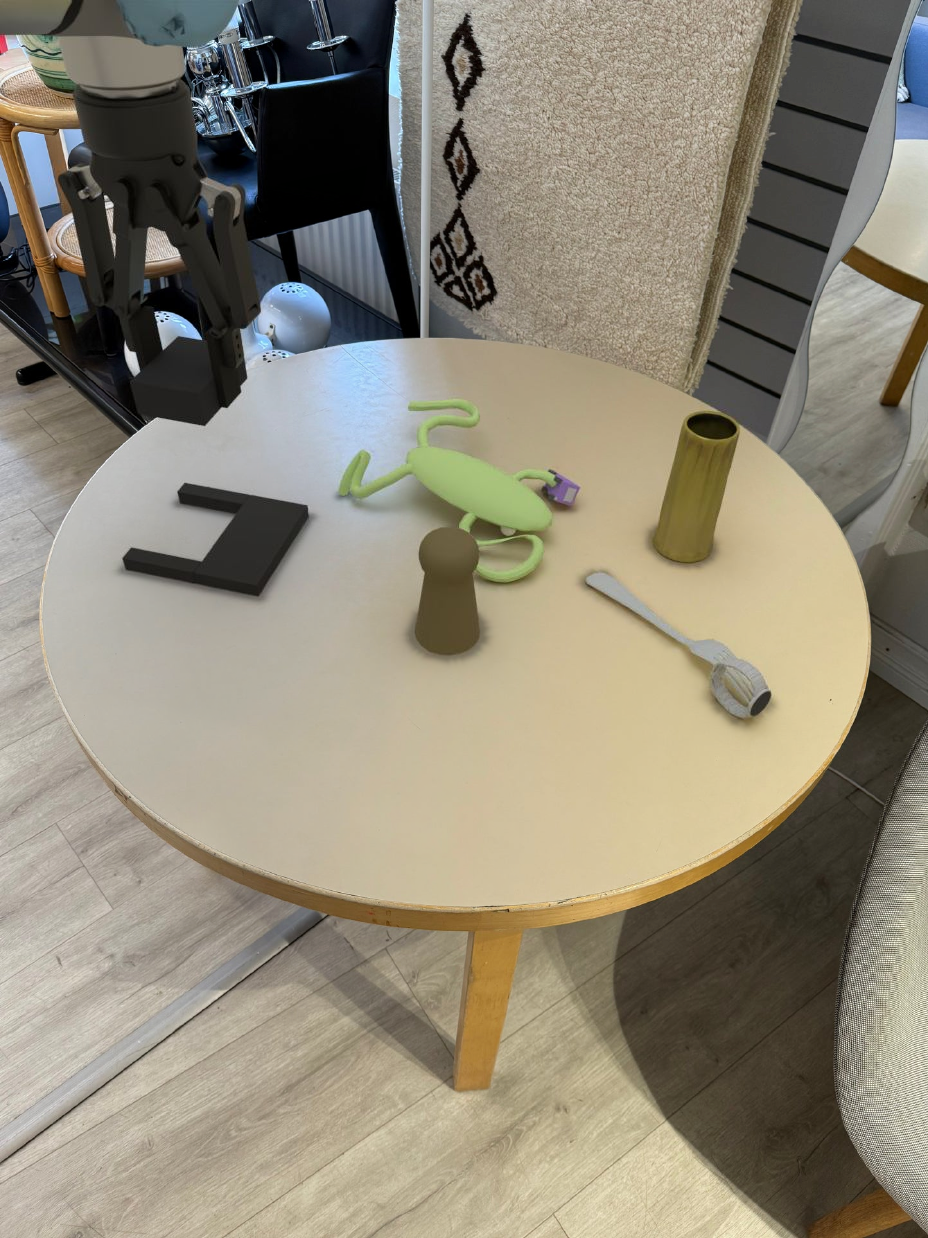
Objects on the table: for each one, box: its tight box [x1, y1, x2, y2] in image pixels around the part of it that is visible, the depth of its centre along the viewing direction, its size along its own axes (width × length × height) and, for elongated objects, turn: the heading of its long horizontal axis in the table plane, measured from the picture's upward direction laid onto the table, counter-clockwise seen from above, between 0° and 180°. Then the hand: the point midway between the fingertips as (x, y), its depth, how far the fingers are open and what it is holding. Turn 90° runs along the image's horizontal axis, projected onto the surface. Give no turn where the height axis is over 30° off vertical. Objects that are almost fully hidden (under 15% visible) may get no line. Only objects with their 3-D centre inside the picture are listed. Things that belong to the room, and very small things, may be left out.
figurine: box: [338, 398, 581, 583], centre depth 96 cm, size 18×27×6 cm
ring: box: [709, 656, 772, 719], centre depth 76 cm, size 3×5×5 cm, turn 36°
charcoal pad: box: [129, 335, 248, 427], centre depth 75 cm, size 6×8×3 cm
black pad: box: [121, 482, 310, 597], centre depth 91 cm, size 14×13×2 cm
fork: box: [585, 571, 754, 705], centre depth 84 cm, size 3×21×3 cm, turn 39°
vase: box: [652, 410, 741, 563], centre depth 89 cm, size 6×6×14 cm
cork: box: [414, 526, 481, 656], centre depth 80 cm, size 6×6×11 cm
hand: (193, 392), depth 76 cm, fingers closed on charcoal pad, 6 cm apart
